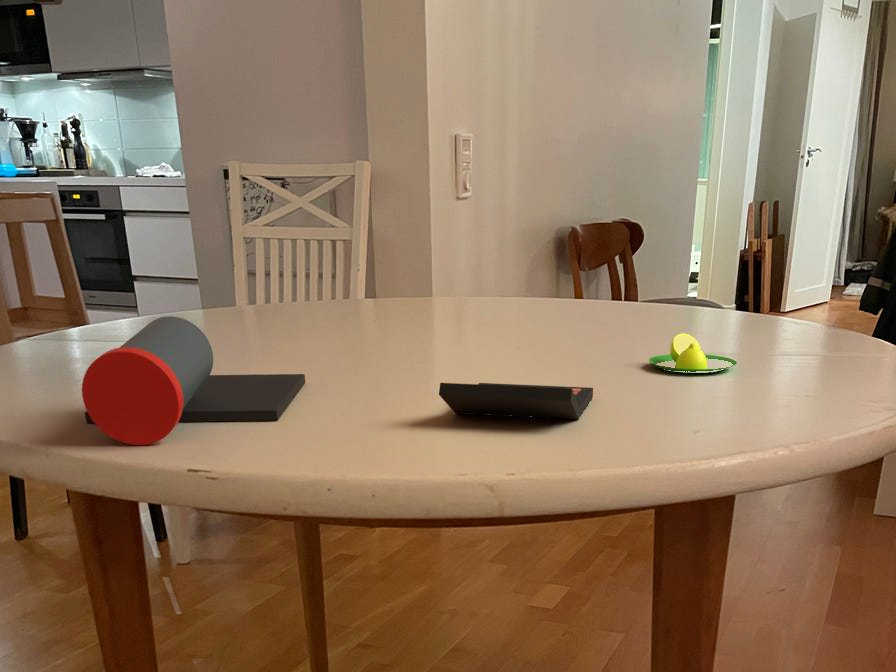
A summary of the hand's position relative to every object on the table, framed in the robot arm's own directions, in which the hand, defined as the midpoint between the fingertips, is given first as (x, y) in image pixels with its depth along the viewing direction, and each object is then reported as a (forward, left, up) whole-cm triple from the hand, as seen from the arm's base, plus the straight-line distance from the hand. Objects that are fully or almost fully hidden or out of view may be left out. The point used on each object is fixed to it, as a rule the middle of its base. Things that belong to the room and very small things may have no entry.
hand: (47, 3), depth 75 cm
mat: (+13, -17, -29) cm, 36 cm away
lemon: (+55, -5, -29) cm, 62 cm away
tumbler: (+12, -19, -25) cm, 33 cm away
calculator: (+38, -22, -29) cm, 53 cm away
